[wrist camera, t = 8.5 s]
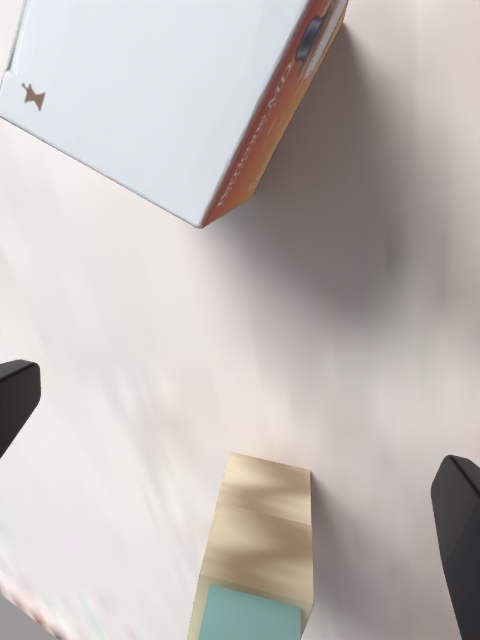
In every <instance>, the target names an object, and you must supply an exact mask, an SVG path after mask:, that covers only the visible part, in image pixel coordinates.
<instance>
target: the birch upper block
mask: <svg viewBox="0 0 480 640" xmlns="http://www.w3.org/2000/svg"><path fill="white" fill-rule="evenodd" d="M210 584H212V585H216V586H220V587H224V588H227V589H231V590H235V591H239V592H243V593H247V594H251V595H255V596H258V597H262V598H266V599H270V600H274V601H278V602H282V603H286V604H290V605H293V606H297V607H301V629H300V640H301V637H302V635H303V632H304V629H305V626H306V624H307V621H308V618H309V616H310V613H311V610H312V608H313V605H314V589H313V545H312V525H308V524H304V523H300V522H296V521H292V520H288V519H284V518H280V517H276V516H272V515H268V514H264V513H260V512H256V511H252V510H248V509H244V508H240V507H236V506H231V505H227V504H223V503H219V502H218V503H217V507H216V511H215V515H214V519H213V523H212V527H211V531H210V535H209V539H208V542H207V546H206V550H205V554H204V558H203V562H202V566H201V570H200V574H199V580H198V585H197V590H196V595H195V601H194V606H193V611H192V616H191V621H190V627H189V632H188V637H187V640H198V636H199V632H200V627H201V622H202V618H203V613H204V609H205V604H206V600H207V595H208V591H209V586H210Z"/></svg>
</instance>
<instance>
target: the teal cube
mask: <svg viewBox="0 0 480 640" xmlns="http://www.w3.org/2000/svg"><path fill="white" fill-rule="evenodd" d="M300 629H301V607H297V606H293V605H290V604H286V603H282V602H278V601H274V600H270V599H266V598H262V597H258V596H255V595H251V594H247V593H243V592H239V591H235V590H231V589H227V588H224V587H220V586H216V585H212V584H210V586H209V591H208V595H207V600H206V604H205V609H204V613H203V618H202V622H201V627H200V632H199V636H198V640H300Z"/></svg>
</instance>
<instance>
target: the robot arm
mask: <svg viewBox="0 0 480 640" xmlns="http://www.w3.org/2000/svg"><path fill="white" fill-rule="evenodd" d="M40 397H41V380H40V367H39V365H38V364H37V363H35V362H30V361H26V360H15V361H11V362H7V363H2V364H0V458H1V457H2V456H3V454H4V453H5V452H6V450H7V449H8V447H9V446H10V444H11V443H12V441H13V440H14V439H15V437H16V436H17V434H18V433H19V431H20V430H21V428H22V427H23V425H24V424H25V423H26V421H27V420H28V418H29V417H30V415H31V414H32V412H33V411H34V409H35V408H36V407H37V405H38V403H39V401H40ZM431 499H432V505H433V511H434V518H435V524H436V530H437V536H438V542H439V549H440V555H441V560H442V565H443V570H444V574H445V578H446V582H447V586H448V589H449V593H450V597H451V601H452V604H453V608H454V612H455V615H456V619H457V623H458V626H459V630H460V634H461V637H462V640H480V468H479V467H478V466H477V465H475V464H474V463H473V462H472V461H471V460H469V459H467V458H463V457H458V456H454V455H447V456H446V457H445V458H444V459H443V461H442V463H441V465H440V467H439V470H438V472H437V474H436V476H435V478H434V481H433V483H432V486H431Z"/></svg>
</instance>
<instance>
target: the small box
mask: <svg viewBox="0 0 480 640" xmlns="http://www.w3.org/2000/svg"><path fill="white" fill-rule="evenodd" d="M348 1H349V0H23V5H22V9H21V13H20V17H19V21H18V25H17V29H16V32H15V36H14V40H13V43H12V47H11V51H10V55H9V58H8V62H7V65H6V67H5V69H4V72H3V76H2V80H1V83H0V117H1V118H2V119H4V120H6V121H8V122H10V123H11V124H13V125H15V126H17V127H19V128H20V129H22V130H24V131H26V132H27V133H29V134H31V135H33V136H35V137H36V138H38V139H40V140H42V141H43V142H45V143H47V144H49V145H51V146H52V147H54V148H56V149H58V150H59V151H61V152H63V153H65V154H67V155H68V156H70V157H72V158H74V159H76V160H77V161H79V162H81V163H83V164H84V165H86V166H88V167H90V168H92V169H93V170H95V171H97V172H99V173H100V174H102V175H104V176H106V177H107V178H109V179H111V180H113V181H115V182H116V183H118V184H120V185H122V186H123V187H125V188H127V189H129V190H130V191H132V192H134V193H136V194H137V195H139V196H141V197H143V198H145V199H146V200H148V201H150V202H152V203H153V204H155V205H157V206H159V207H160V208H162V209H164V210H166V211H168V212H169V213H171V214H173V215H175V216H176V217H178V218H180V219H182V220H183V221H185V222H187V223H189V224H190V225H192V226H194V227H195V228H199V229H201V228H204V227H205V226H207V225H208V224H210V223H211V222H213V221H214V220H216V219H218V218H220V217H222V216H223V215H224V214H226V213H228V212H229V211H231V210H233V209H234V208H236V207H237V206H239V205H241V204H242V203H244V202H245V201H247V200H249V199H250V198H252V196H253V194H254V192H255V190H256V188H257V186H258V184H259V182H260V180H261V178H262V176H263V174H264V172H265V169H266V167H267V165H268V163H269V161H270V159H271V157H272V155H273V153H274V152H275V150H276V148H277V146H278V144H279V142H280V140H281V138H282V136H283V134H284V132H285V131H286V129H287V127H288V125H289V123H290V121H291V119H292V117H293V116H294V114H295V112H296V110H297V108H298V106H299V104H300V103H301V101H302V99H303V97H304V95H305V93H306V91H307V90H308V88H309V86H310V84H311V82H312V80H313V78H314V76H315V74H316V73H317V71H318V69H319V67H320V65H321V63H322V61H323V59H324V57H325V56H326V54H327V52H328V50H329V48H330V46H331V44H332V42H333V40H334V39H335V37H336V35H337V33H338V31H339V29H340V27H341V25H342V22H343V20H344V16H345V12H346V8H347V4H348Z"/></svg>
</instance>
